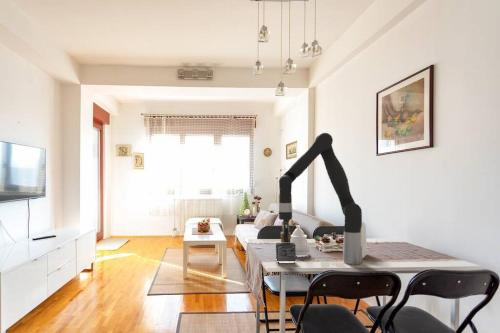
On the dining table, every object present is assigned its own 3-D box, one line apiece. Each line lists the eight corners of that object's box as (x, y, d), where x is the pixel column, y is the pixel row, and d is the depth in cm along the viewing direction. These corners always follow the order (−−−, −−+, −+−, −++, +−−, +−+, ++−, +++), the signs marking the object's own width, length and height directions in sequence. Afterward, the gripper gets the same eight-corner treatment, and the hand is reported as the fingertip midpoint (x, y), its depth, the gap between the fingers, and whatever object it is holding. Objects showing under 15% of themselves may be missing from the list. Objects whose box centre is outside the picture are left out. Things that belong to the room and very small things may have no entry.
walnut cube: (289, 240, 204) (289, 232, 204) (290, 242, 199) (290, 233, 199) (280, 240, 204) (280, 232, 205) (281, 242, 199) (281, 233, 200)
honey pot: (308, 257, 212) (308, 227, 212) (287, 256, 214) (286, 226, 215) (309, 252, 224) (309, 224, 225) (289, 252, 227) (289, 223, 227)
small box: (294, 260, 205) (294, 242, 205) (296, 263, 199) (295, 244, 199) (275, 260, 205) (275, 242, 205) (277, 263, 198) (276, 244, 198)
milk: (348, 252, 225) (347, 211, 226) (367, 254, 219) (366, 211, 220) (342, 256, 215) (342, 212, 215) (362, 258, 209) (361, 213, 209)
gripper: (293, 212, 195) (293, 243, 195) (291, 209, 209) (291, 238, 209) (279, 212, 195) (279, 243, 195) (278, 209, 209) (278, 238, 209)
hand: (285, 240), depth 202 cm, fingers closed on walnut cube, 4 cm apart
